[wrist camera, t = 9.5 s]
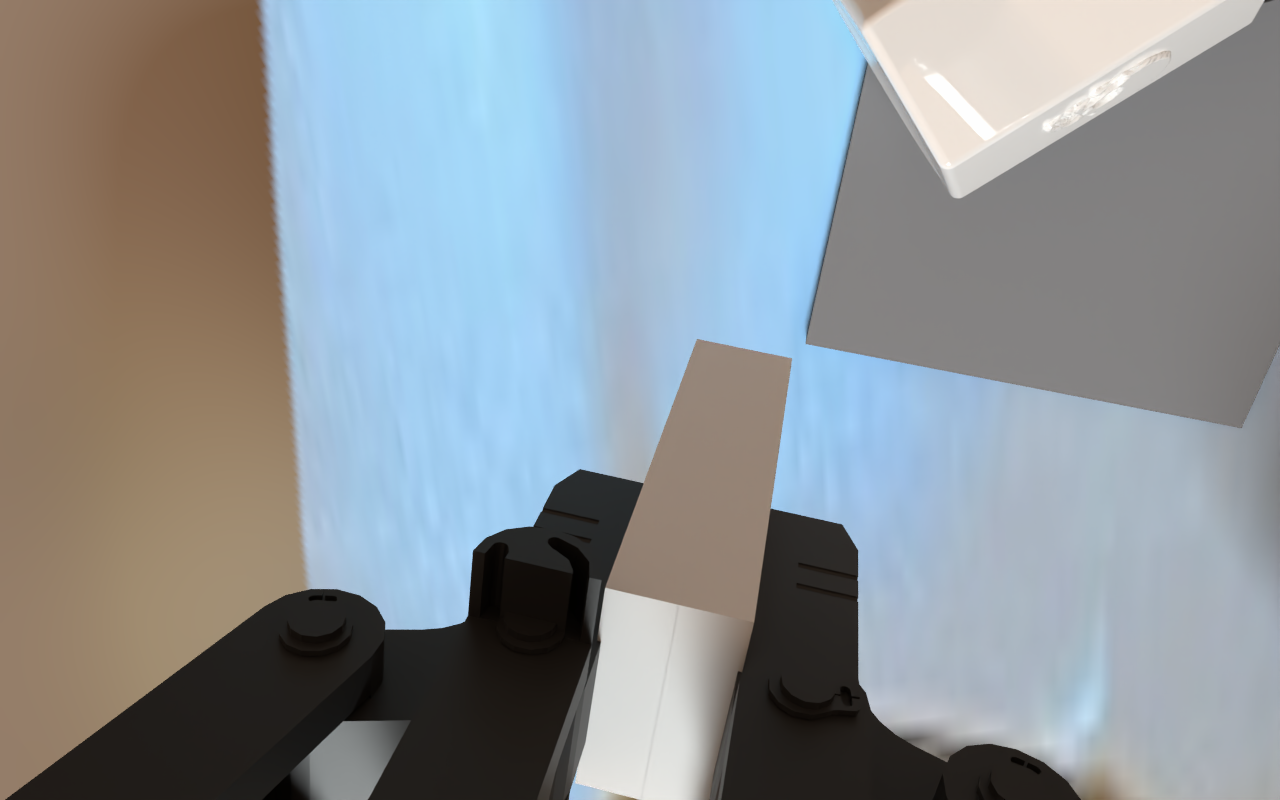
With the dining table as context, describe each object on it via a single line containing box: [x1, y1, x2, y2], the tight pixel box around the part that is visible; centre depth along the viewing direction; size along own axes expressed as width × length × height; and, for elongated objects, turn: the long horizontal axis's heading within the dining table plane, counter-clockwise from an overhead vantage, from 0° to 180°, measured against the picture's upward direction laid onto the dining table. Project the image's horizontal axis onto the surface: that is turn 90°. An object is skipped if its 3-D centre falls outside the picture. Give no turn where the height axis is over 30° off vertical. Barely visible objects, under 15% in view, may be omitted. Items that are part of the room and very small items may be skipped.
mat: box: [806, 0, 1280, 428], centre depth 35 cm, size 16×16×1 cm
